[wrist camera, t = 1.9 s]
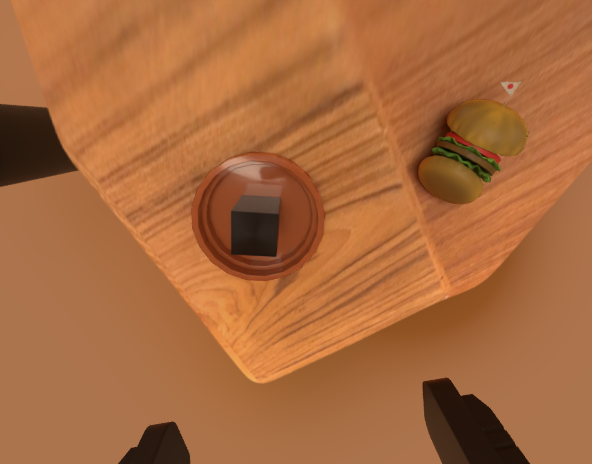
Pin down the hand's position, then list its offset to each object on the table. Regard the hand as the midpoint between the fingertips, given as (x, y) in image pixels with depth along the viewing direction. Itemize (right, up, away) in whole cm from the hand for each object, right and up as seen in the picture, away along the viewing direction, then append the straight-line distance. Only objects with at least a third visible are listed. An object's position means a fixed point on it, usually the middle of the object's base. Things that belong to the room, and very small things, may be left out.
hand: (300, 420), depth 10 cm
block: (-4, +8, +26) cm, 28 cm away
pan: (-4, +8, +27) cm, 28 cm away
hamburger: (+15, +10, +23) cm, 29 cm away
